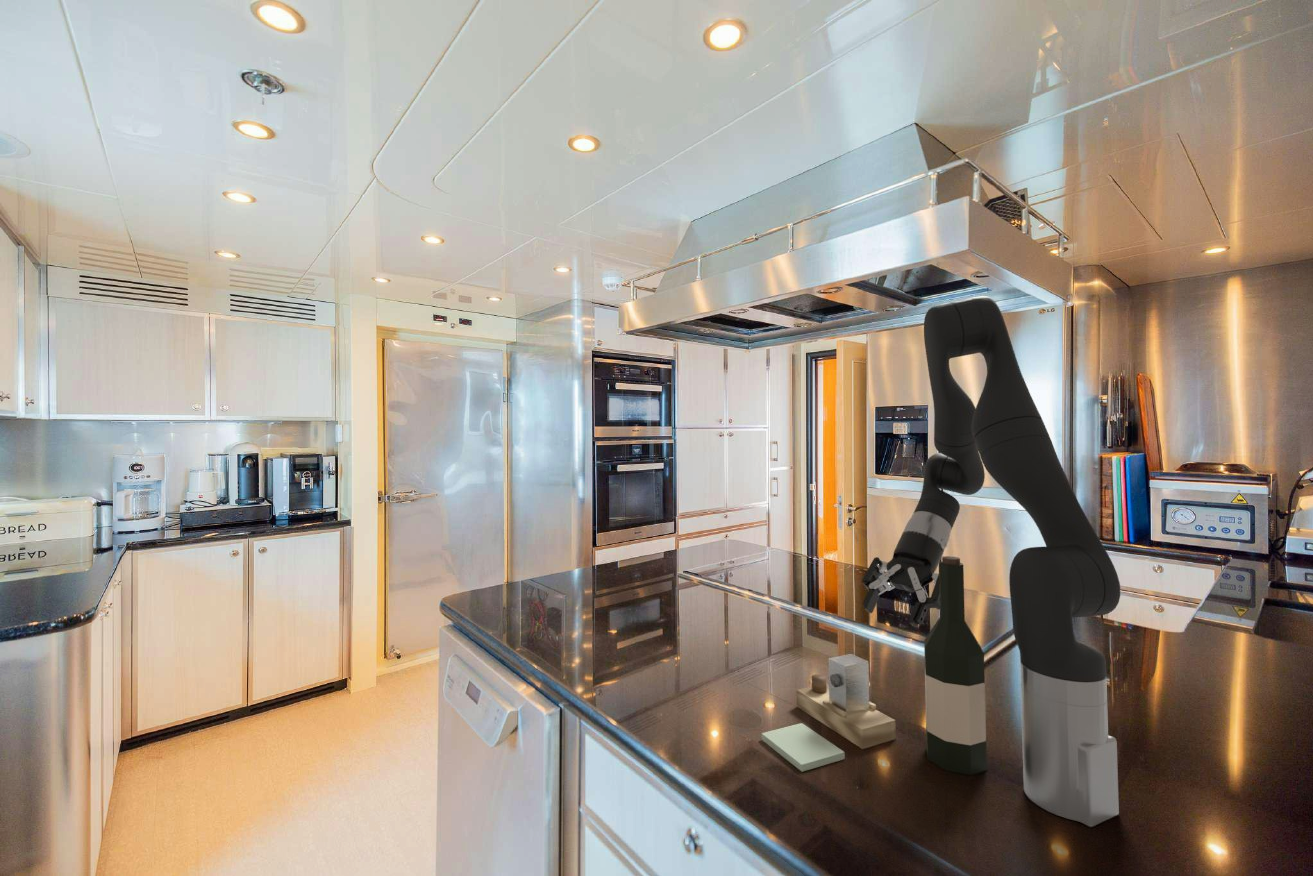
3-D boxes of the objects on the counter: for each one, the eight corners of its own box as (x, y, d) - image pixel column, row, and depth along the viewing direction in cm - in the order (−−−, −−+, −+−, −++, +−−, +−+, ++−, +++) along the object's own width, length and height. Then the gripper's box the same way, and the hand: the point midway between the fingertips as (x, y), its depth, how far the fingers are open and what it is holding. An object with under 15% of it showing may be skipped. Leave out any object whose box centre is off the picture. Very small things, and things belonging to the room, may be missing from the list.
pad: (844, 758, 84) (844, 752, 84) (801, 771, 80) (801, 764, 80) (801, 729, 93) (801, 723, 93) (761, 739, 89) (761, 733, 90)
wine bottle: (916, 759, 83) (911, 558, 84) (936, 738, 89) (932, 551, 90) (978, 782, 77) (972, 565, 78) (995, 758, 83) (990, 557, 84)
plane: (895, 739, 89) (895, 705, 89) (862, 749, 86) (861, 713, 87) (827, 699, 104) (826, 670, 104) (796, 706, 101) (796, 676, 101)
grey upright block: (869, 709, 93) (868, 661, 93) (843, 716, 91) (842, 666, 91) (851, 700, 97) (851, 653, 97) (826, 706, 94) (825, 658, 95)
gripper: (879, 524, 108) (844, 595, 102) (955, 536, 96) (920, 618, 90) (895, 546, 111) (862, 617, 105) (969, 560, 100) (937, 641, 93)
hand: (889, 617), depth 98 cm, fingers open, 8 cm apart
